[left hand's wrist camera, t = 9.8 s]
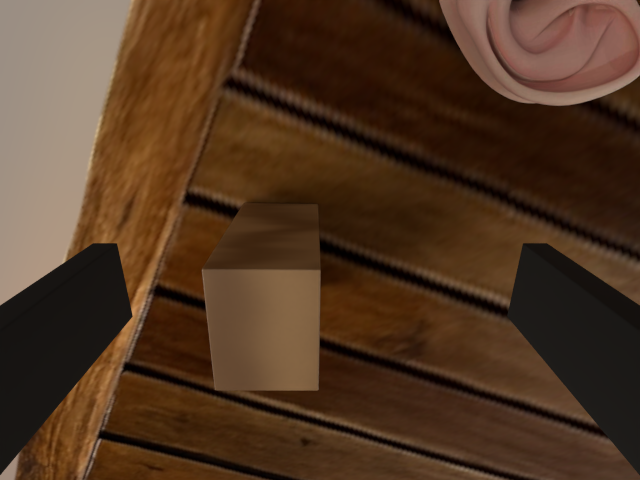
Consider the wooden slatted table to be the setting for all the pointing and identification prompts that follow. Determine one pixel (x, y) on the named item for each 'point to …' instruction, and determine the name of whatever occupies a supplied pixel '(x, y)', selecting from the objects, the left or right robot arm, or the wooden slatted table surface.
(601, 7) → the anatomical model
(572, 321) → the left robot arm
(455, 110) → the wooden slatted table surface
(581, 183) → the wooden slatted table surface
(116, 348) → the wooden slatted table surface
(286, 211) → the block
